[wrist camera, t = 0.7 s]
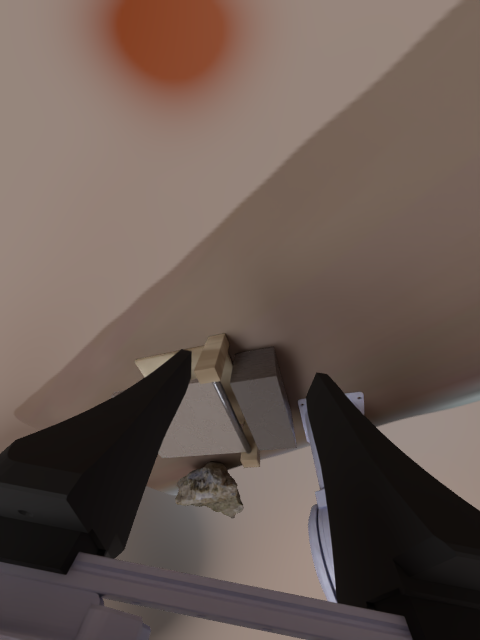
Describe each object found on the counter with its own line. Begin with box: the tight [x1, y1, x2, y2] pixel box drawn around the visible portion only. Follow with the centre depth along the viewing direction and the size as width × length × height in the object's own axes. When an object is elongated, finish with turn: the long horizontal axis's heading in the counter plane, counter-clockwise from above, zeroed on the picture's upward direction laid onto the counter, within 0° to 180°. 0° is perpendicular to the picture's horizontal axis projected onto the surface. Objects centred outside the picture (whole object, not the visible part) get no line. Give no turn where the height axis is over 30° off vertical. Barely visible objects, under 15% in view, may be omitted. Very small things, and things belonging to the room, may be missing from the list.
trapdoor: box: [111, 347, 297, 458], centre depth 23 cm, size 12×18×4 cm
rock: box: [176, 462, 243, 518], centre depth 32 cm, size 11×6×10 cm
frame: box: [134, 333, 260, 468], centre depth 24 cm, size 16×12×6 cm
